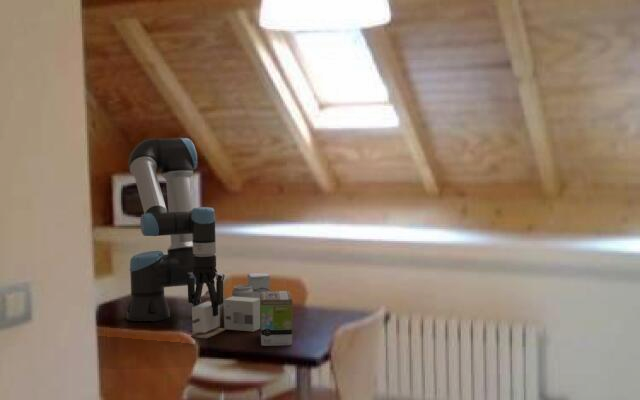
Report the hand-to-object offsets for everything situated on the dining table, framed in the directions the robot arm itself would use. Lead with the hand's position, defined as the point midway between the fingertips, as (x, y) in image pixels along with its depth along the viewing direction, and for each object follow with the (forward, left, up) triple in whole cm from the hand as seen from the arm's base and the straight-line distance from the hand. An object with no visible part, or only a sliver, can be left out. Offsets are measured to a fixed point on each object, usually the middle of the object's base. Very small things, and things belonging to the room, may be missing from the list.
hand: (206, 324), depth 301 cm
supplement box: (-2, +42, -3) cm, 42 cm away
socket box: (+8, +10, -3) cm, 13 cm away
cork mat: (0, 0, -3) cm, 3 cm away
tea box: (+26, -1, -3) cm, 26 cm away
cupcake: (-12, +24, -3) cm, 27 cm away
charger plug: (0, 0, -1) cm, 1 cm away
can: (+2, +22, -3) cm, 22 cm away
